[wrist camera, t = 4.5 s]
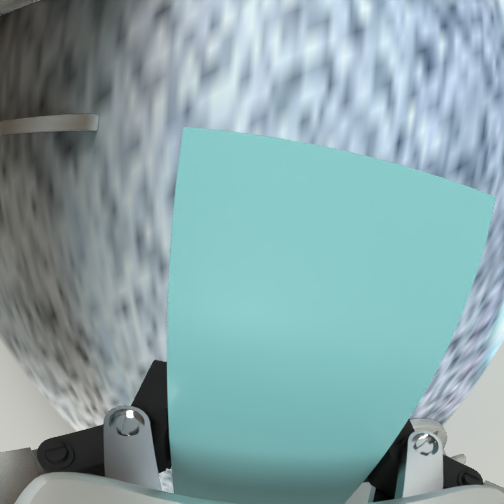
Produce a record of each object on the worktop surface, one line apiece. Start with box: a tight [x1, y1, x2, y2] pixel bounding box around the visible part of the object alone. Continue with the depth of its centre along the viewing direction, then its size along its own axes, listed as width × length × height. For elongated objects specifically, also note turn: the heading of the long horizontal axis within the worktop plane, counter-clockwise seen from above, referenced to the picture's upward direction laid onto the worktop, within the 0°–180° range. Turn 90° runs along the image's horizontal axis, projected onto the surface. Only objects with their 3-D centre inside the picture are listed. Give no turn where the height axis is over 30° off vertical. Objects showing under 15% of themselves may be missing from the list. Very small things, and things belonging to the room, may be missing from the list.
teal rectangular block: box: [167, 127, 496, 504], centre depth 9 cm, size 16×6×5 cm, turn 172°
